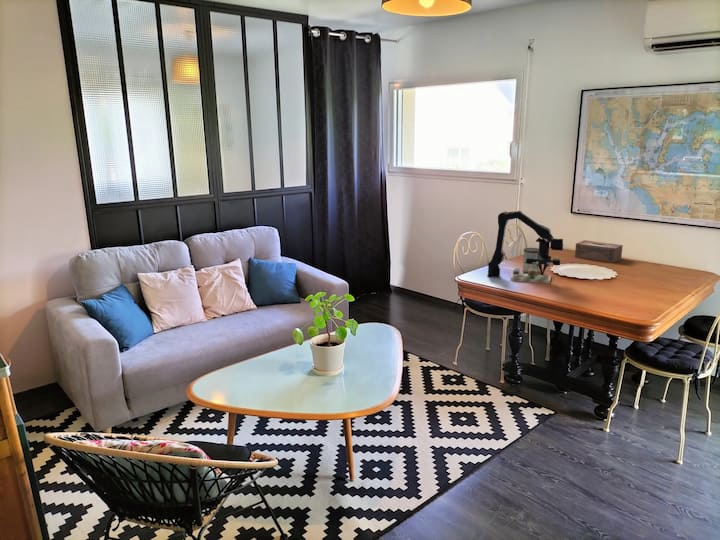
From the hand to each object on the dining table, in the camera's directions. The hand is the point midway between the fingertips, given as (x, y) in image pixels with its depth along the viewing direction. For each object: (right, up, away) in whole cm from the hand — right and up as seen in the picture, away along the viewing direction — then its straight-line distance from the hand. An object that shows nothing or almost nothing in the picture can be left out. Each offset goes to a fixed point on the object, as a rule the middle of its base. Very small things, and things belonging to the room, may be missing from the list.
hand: (542, 275), depth 305 cm
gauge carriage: (-7, -1, +2) cm, 7 cm away
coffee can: (0, +2, +21) cm, 22 cm away
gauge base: (-5, -2, +4) cm, 7 cm away
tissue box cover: (+56, +11, +51) cm, 77 cm away
